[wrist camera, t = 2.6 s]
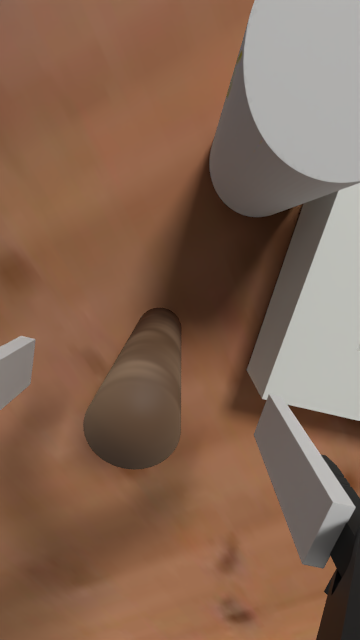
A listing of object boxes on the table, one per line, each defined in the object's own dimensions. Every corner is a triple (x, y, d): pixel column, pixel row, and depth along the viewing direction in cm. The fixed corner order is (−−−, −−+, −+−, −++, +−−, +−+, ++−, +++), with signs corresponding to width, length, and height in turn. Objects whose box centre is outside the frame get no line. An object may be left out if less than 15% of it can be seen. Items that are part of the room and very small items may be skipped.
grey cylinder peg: (299, 81, 19) (473, -165, 8) (324, 194, 21) (491, 132, 10) (194, 127, 20) (212, -35, 9) (227, 232, 22) (277, 215, 11)
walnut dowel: (134, 344, 25) (77, 458, 11) (142, 303, 24) (91, 375, 10) (175, 353, 25) (168, 477, 12) (186, 313, 24) (191, 398, 11)
